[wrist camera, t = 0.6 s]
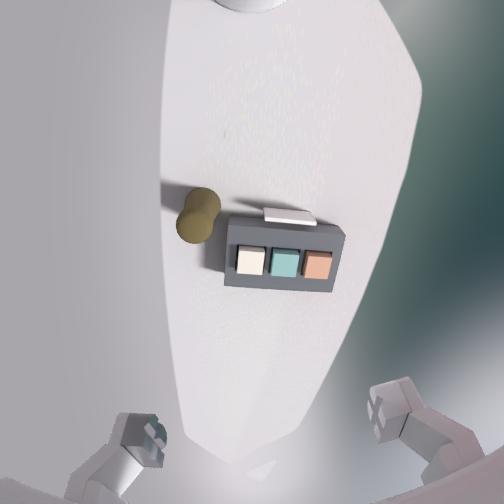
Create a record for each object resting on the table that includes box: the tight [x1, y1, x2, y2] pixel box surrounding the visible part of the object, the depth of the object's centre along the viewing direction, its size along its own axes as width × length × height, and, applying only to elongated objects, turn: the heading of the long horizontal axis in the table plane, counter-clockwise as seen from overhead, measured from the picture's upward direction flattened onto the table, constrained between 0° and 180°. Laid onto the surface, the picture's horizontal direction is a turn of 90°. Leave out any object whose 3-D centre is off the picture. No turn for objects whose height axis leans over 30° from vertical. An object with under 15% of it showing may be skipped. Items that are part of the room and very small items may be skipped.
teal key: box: [270, 247, 300, 277], centre depth 50 cm, size 4×4×3 cm
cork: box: [176, 188, 221, 244], centre depth 45 cm, size 6×6×11 cm
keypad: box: [224, 207, 346, 293], centre depth 52 cm, size 13×19×5 cm
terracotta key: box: [301, 250, 332, 279], centre depth 51 cm, size 4×4×3 cm
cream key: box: [237, 244, 265, 275], centre depth 50 cm, size 4×4×3 cm
